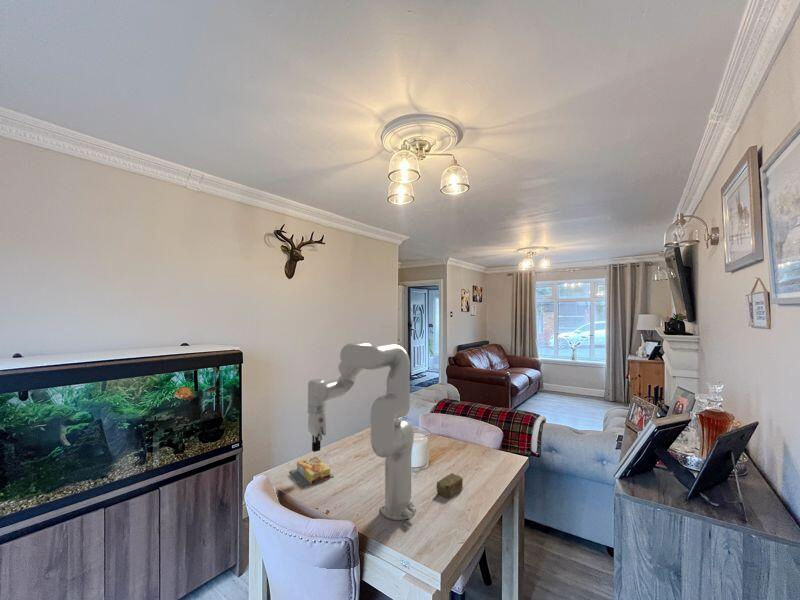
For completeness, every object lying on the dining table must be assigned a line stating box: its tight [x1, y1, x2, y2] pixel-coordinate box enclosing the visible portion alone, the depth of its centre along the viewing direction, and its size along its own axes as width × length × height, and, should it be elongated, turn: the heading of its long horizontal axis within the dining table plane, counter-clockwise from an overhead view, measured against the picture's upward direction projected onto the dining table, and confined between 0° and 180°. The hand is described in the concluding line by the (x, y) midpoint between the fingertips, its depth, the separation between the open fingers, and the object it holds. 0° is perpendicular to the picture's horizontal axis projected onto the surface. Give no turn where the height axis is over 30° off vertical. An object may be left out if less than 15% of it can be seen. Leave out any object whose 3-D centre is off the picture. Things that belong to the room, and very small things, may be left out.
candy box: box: [296, 456, 331, 485], centre depth 146 cm, size 9×4×15 cm
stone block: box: [436, 472, 464, 499], centre depth 134 cm, size 6×12×5 cm, turn 137°
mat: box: [289, 468, 335, 487], centre depth 147 cm, size 16×14×1 cm
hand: (316, 450), depth 146 cm, fingers closed
